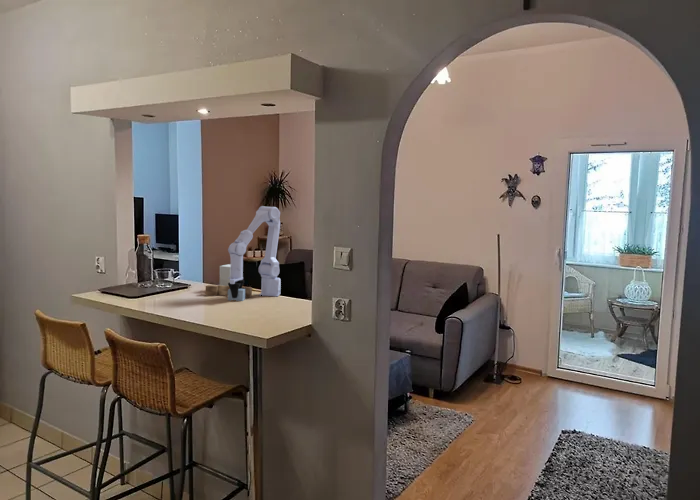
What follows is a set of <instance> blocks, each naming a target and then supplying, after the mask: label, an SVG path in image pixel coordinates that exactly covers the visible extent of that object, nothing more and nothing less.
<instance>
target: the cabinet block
mask: <svg viewBox="0 0 700 500" xmlns="http://www.w3.org/2000/svg"><path fill="white" fill-rule="evenodd" d="M227 294H228V295H227V301H231V300H236V301H235V302H244V301H245V300H246V297H245V289H239V290H238V296H237V298H232V294H231V290H230V289H229V290H228V292H227Z"/></svg>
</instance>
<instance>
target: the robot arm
mask: <svg viewBox="0 0 700 500" xmlns="http://www.w3.org/2000/svg"><path fill="white" fill-rule="evenodd" d="M280 216H281V210H279V208H278V207H276V206H264V205H261V206H259V207H258V209H257V210H256V211H255V216H254V217H253V219H252V221H250V224H249V225H248V227H247V228H246V229H244V230H241V231H240V233H239V235H238V237H236V239H235V240H234V242H231V243H230V245H229V246H228V248H227V252H228V254H229V257H230V264H231V265H230V277H228V279H230V282H229V283H228V285H229V287H230V290H231V294H232V298H237V296H238V290H239V289H242V287H244V286H243V285H244V283H245V280H244V273H243V272H244V255H245V254H246V252H247V248H248V245H249V244H250V242H251V241H252V240H253V238H254V235H253V234H254V233H255V232H256V230H257V229H258V228H259V227H260V226H261V225H262V224H263V223H266V224H267V225H268V231H267V236H266V237H267V239H266V247H265V253H264V257H263V258H261V261H260V264H259V266H258V273H259V275H260V277H261V286H260V287H261V290H260V293H258V295H259V296H261V295H262V296H263V297H279V296H280V295H281V289H282V288H281V287H282V286H281V285H282V284H281V283H282V282H281V281H282V280H281V278H280V277H278V276H279V274H280V262H279V261H278V260H277V252H278V244H279V237H280V231H281V219H280V218H281V217H280Z"/></svg>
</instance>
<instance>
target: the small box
mask: <svg viewBox="0 0 700 500" xmlns="http://www.w3.org/2000/svg"><path fill="white" fill-rule="evenodd" d="M230 265H231V263H228V264H223V265H219V285H220V286H229V285H228V283H229V282H230V279H228V277H230Z"/></svg>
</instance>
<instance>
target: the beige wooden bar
mask: <svg viewBox="0 0 700 500" xmlns="http://www.w3.org/2000/svg"><path fill="white" fill-rule="evenodd" d="M229 289H230V287H229V286H220V284H219V285H217V284H213V285H212V284H206V285H205V296H214V297H216V296H217V297H218V296H228V294H227V292H228V290H229ZM242 289H245V298H252V296H253V287H251V286H242Z"/></svg>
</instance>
